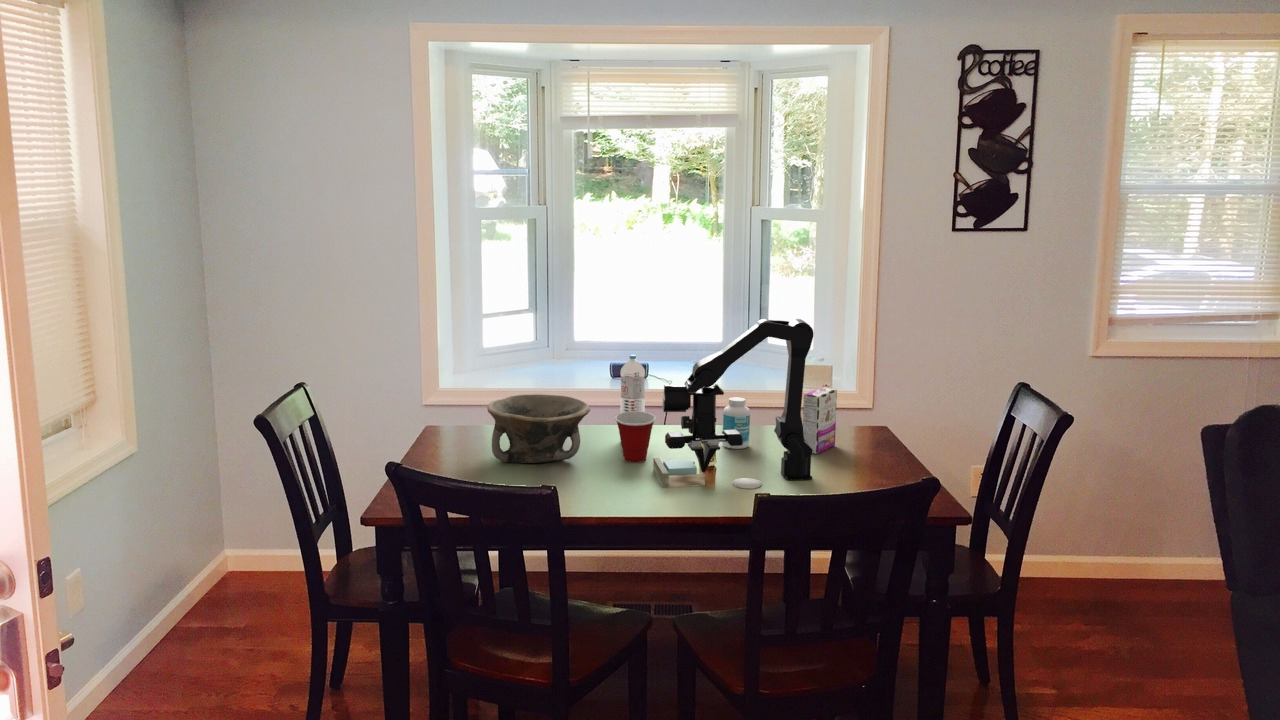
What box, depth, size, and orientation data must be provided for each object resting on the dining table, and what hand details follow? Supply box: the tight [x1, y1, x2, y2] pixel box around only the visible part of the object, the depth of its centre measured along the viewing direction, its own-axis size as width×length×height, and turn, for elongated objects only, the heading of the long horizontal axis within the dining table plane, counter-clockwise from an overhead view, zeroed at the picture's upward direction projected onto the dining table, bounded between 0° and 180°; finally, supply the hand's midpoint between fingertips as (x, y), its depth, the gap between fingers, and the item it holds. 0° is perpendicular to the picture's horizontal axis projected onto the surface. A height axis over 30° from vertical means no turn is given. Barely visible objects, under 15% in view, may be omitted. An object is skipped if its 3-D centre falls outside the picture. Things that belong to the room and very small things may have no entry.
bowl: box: [486, 393, 591, 464], centre depth 258 cm, size 27×26×15 cm
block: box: [663, 458, 698, 475], centre depth 243 cm, size 7×7×4 cm
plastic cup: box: [614, 411, 657, 464], centre depth 258 cm, size 11×11×12 cm
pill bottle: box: [722, 396, 751, 450], centre depth 271 cm, size 8×7×14 cm
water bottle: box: [619, 354, 646, 413], centre depth 273 cm, size 7×7×25 cm
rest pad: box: [732, 477, 762, 490], centre depth 240 cm, size 7×7×1 cm
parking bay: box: [652, 457, 706, 488], centre depth 243 cm, size 10×13×4 cm
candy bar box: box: [802, 387, 838, 455], centre depth 269 cm, size 11×5×16 cm, turn 143°
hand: (703, 471), depth 244 cm, fingers closed
